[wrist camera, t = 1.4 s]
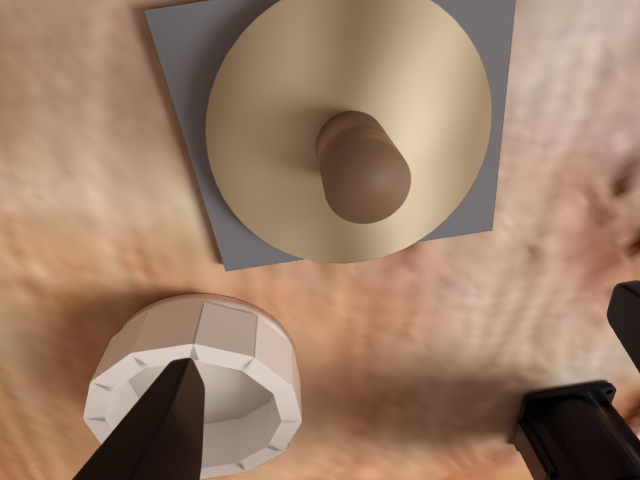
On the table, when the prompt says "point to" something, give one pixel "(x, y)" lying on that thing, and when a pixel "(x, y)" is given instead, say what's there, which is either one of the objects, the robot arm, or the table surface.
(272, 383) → the bowl
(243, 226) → the mat
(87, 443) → the table surface
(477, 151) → the lid
